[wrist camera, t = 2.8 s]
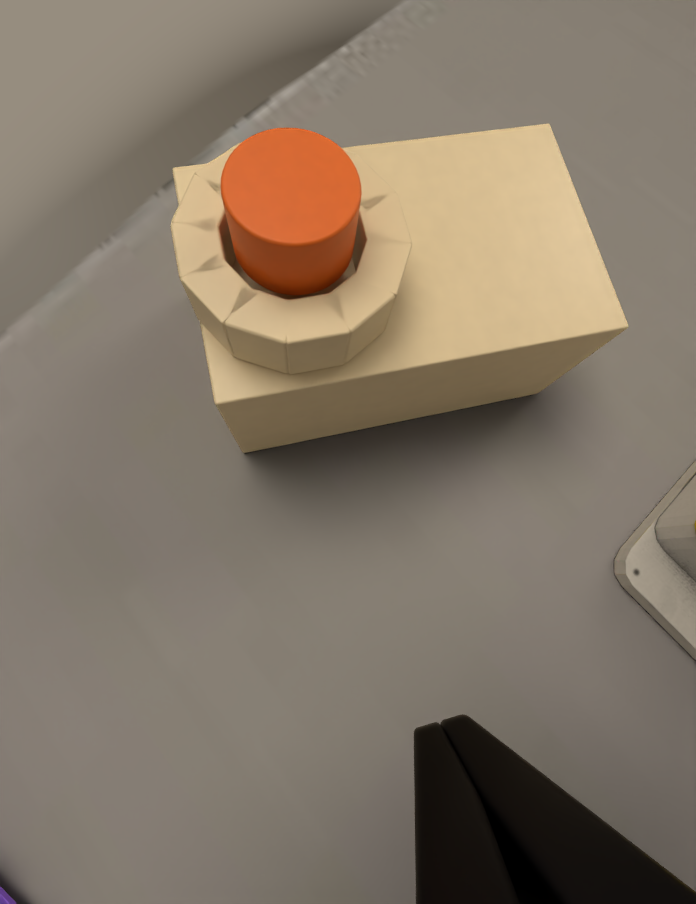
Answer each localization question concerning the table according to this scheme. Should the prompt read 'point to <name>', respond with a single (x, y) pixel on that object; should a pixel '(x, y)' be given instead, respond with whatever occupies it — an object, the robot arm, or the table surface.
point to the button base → (405, 291)
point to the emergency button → (666, 562)
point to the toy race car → (5, 897)
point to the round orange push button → (291, 209)
